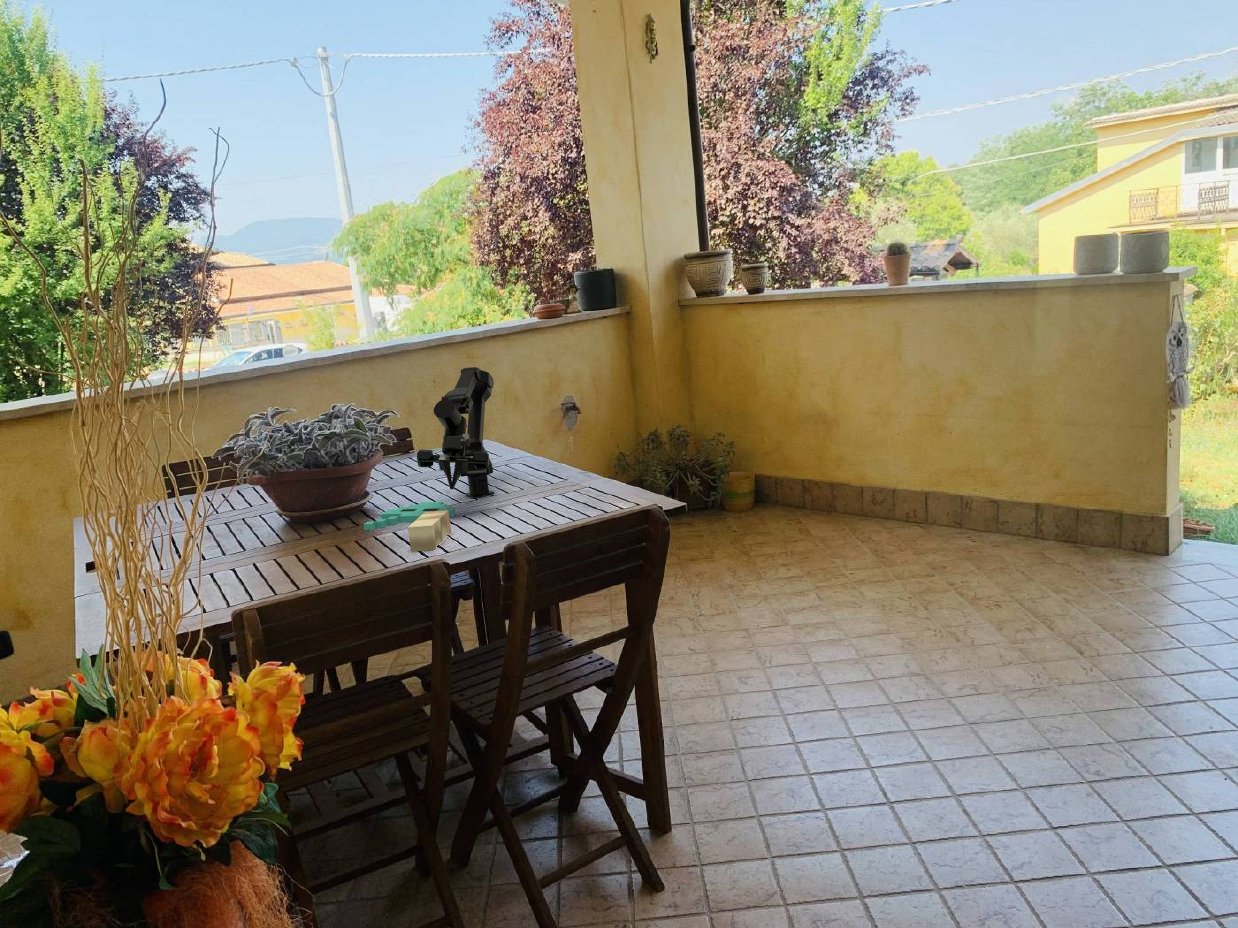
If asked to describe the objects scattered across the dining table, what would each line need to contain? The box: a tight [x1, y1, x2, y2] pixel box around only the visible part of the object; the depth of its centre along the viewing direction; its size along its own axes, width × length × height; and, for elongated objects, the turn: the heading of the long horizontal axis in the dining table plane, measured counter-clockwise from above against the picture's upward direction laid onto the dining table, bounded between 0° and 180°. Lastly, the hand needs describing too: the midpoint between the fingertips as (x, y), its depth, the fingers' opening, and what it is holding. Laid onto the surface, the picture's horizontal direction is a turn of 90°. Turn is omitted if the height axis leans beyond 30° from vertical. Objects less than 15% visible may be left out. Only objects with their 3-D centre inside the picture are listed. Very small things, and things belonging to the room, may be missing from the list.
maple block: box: [407, 511, 452, 552], centre depth 224 cm, size 6×6×13 cm
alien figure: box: [363, 501, 456, 531], centre depth 247 cm, size 20×2×20 cm
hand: (451, 488), depth 240 cm, fingers closed
